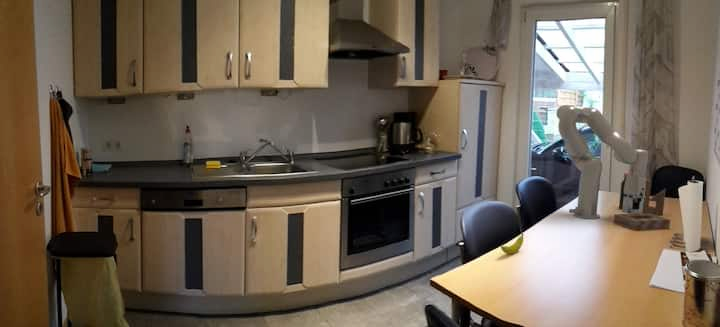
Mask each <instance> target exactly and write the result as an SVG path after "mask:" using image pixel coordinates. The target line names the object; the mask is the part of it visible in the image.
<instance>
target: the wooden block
mask: <svg viewBox="0 0 720 327" xmlns="http://www.w3.org/2000/svg"><path fill="white" fill-rule="evenodd" d="M651 185H652V180H650V179H646V189H645V197H646V198H645V199H644V203H643V210H642V213H650V214H653V215H656V216H660V217H663V215H664V208H665V197H666V190H667V189H666V188H664V189H662V190H661V191H660V192H658V193H657V194H655V195H653V196H652V197H651V188H652V186H651ZM650 197H651V198H650ZM650 202H655V206H652V205H651V206H650Z"/></svg>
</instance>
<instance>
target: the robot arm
mask: <svg viewBox="0 0 720 327" xmlns="http://www.w3.org/2000/svg"><path fill="white" fill-rule="evenodd" d="M556 117H557V119H558V132H559V135H560V136H561V138H562V140H563V141H564V150H565V153H566V154H567V155H568V157H569V159H570V160H571V162H572V163H573V165H575V167H576V168H577V169H578V170H579V171H580V172H581V173H580V177H579V182H578V183H579V184H578V193H577V194H578V197H577V206H575V208H570V209H568V212H569V214H570V213H571V214H573V216H575V217H577V218H579V219H580V218H581V219H588V220H597V219H600V218H601V215H600V214H599V213H598V206H599V196H600V195H599V191H600V182H601V176H602V172H603V162H602V161H601V159H600V158H598V157H597V156H595V155H592V154H591V153H590V152H589V151H590V146H589V144H588V142H587V141H586V140H585V139H584V137H583V136H582V134H581V133H580V131H579V130H578V127H577V124H586V125H587V127H589V128H590V130H591V131H592V132H593V133H594V135H595V136H596V137H597V139H598V140H600V141H601V142H602V143H603V144H605V145H607V146H608V147H610V148H611V149H612V150H613V158H614V160H615V161H617V162H618V163H619V162H620V163H623V164H625V165H629V168H628V169H629V170H628V173H629V175H627V178H626V181H625V186H624V194H625V196H630V195H631V197H633V196H634V197H635V202H634V206H633V209H634V210H639V205H640V202H641V201H642V200H643V199H645V198H646V197H645V189H646V180H647V179H646V173H647V166H648V165H647V164H648V158H649V151H648V150H647V149H642V148H641V149H640V148H635V149H634V148H633V147H632V145H630V143H629V142H628V140H626V139H625V138H624V137H623V136H622V135H621V134H620V133H619V132H618V131H617V130H616V129H615V128H614V126H612V125H611V123H610V122H609V121H608V120H607V119H606V117H605V116H604V115H603V113H601V111H600V110H599V109H597V108H595V107H584V106H575V105H570V104H569V105H568V104H564V105H561V106H559V107H558V108H557V110H556ZM638 197H639V198H638Z"/></svg>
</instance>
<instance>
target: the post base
mask: <svg viewBox="0 0 720 327" xmlns="http://www.w3.org/2000/svg"><path fill="white" fill-rule="evenodd" d="M613 224H614V225H617V226H619V227H620V226H621V227H623V228H625V229H629V230H632V231H637V232H638V231H652V230H655V231H656V230H670V226H671V219H669V218H667V217H663V216H661V215H655V214H650V213H617V214H616V213H615V214H614V216H613Z"/></svg>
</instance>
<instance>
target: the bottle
mask: <svg viewBox="0 0 720 327" xmlns="http://www.w3.org/2000/svg"><path fill="white" fill-rule="evenodd" d="M627 175H629V172H624V173H623V180H622V181H621V183H620V193H619V204H618V205H619V206H618V209H619V210H622V207H623V199H624V196H625V194H624V186H625V181H626V178H627ZM630 196H631V195H630ZM633 197H635V196H633Z"/></svg>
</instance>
